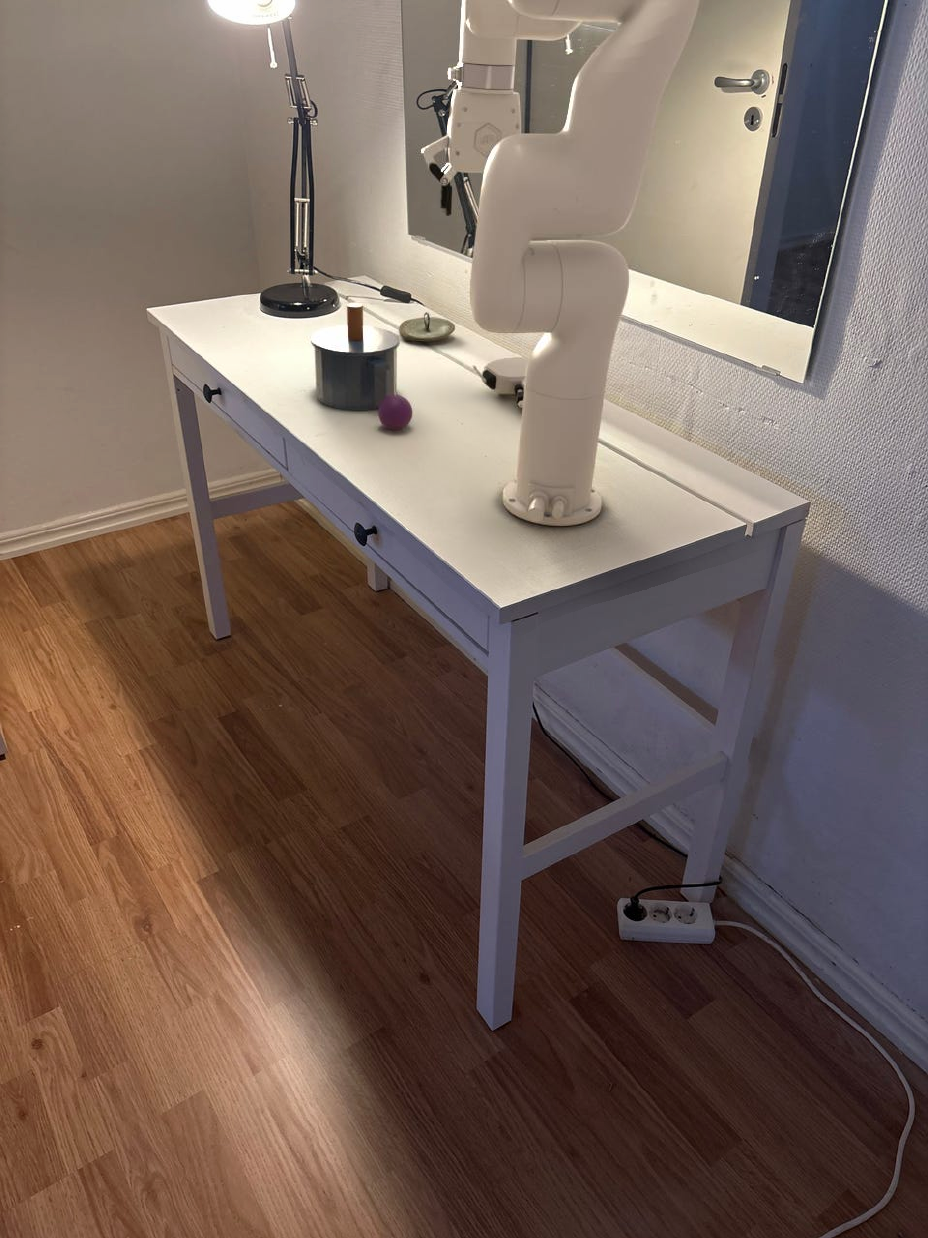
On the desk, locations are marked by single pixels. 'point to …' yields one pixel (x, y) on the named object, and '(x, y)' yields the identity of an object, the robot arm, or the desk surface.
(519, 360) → the robot toy
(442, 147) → the robot arm
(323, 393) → the pot
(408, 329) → the lid
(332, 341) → the pot lid
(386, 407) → the purple ball
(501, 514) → the desk surface
